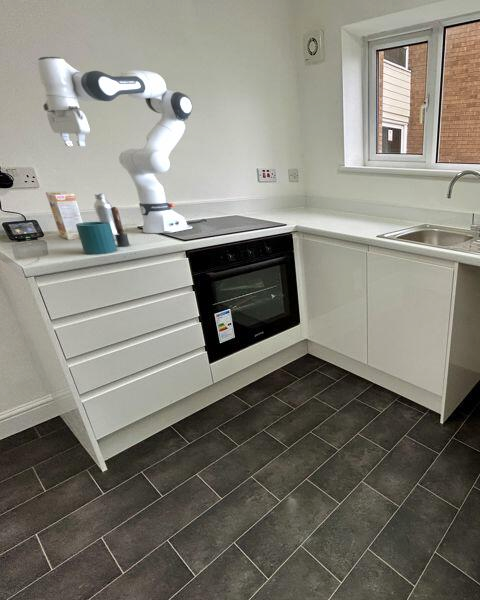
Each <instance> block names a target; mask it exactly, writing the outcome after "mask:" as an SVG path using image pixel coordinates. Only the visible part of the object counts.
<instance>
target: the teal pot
mask: <svg viewBox="0 0 480 600" xmlns="http://www.w3.org/2000/svg"><path fill="white" fill-rule="evenodd" d="M76 227H77V230H78V233H79V237H80V239H79V240H80V244H81V247H82V250H83V252H84V254H85V255H103V254H111V253H114V252H117V251H118V249H117V245H116V244H117V243H116V241H115V240H114V237H113V233H112V229H111V226H110V223H109V222H99V221H86V222H83V223H78V224H76Z"/></svg>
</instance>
